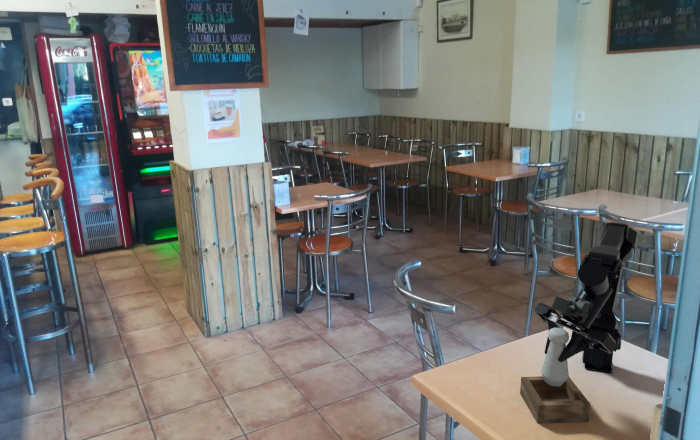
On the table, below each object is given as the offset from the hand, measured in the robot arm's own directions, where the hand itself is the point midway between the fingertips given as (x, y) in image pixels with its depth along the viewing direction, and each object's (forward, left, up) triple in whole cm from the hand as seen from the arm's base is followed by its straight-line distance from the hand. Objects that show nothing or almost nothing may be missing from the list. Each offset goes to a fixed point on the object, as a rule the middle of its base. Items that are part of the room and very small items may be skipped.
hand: (552, 357), depth 117 cm
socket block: (-1, -1, -13) cm, 13 cm away
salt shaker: (-1, -1, -7) cm, 7 cm away
